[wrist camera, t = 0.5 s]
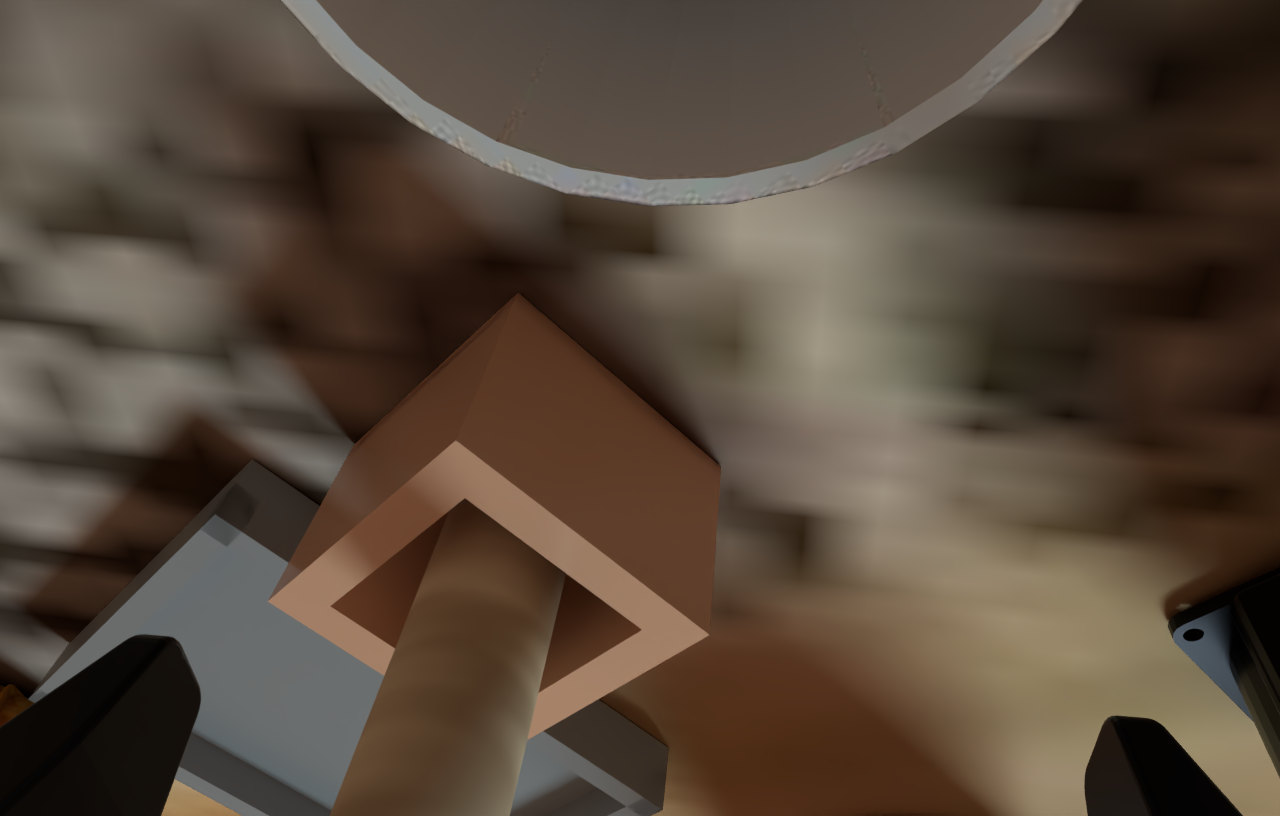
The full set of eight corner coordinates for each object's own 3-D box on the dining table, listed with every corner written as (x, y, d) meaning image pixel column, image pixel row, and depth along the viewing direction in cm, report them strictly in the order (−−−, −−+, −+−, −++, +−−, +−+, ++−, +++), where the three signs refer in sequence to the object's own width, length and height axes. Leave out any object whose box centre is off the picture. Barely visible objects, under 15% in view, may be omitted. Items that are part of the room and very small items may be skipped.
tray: (668, 748, 32) (662, 810, 30) (448, 861, 38) (432, 918, 36) (252, 459, 27) (215, 514, 25) (68, 644, 32) (28, 699, 31)
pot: (720, 466, 25) (709, 634, 21) (547, 586, 28) (504, 752, 24) (518, 292, 23) (455, 440, 18) (353, 444, 26) (267, 601, 21)
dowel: (612, 475, 25) (522, 914, 16) (536, 531, 26) (414, 962, 17) (522, 402, 24) (373, 829, 15) (447, 465, 25) (270, 887, 16)
